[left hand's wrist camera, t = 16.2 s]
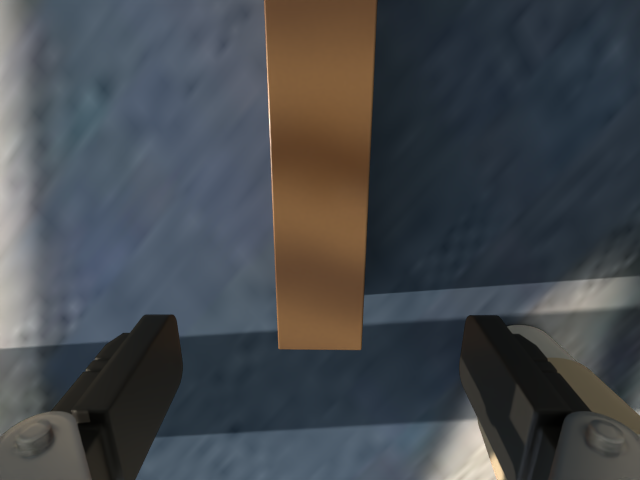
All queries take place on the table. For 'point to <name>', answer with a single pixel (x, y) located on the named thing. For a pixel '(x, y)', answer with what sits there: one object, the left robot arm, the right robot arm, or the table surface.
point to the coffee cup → (581, 382)
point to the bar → (320, 165)
